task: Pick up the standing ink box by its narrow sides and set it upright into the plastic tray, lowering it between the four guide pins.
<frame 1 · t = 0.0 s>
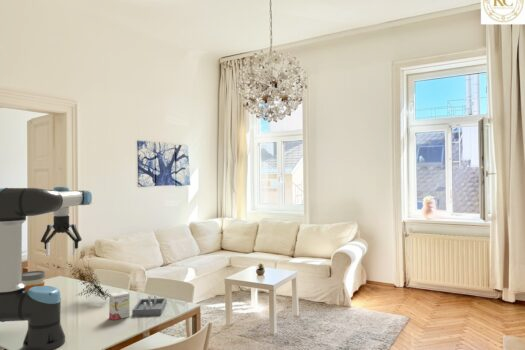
hand: (61, 255, 207), 28 cm above the table, tool pointing down, fingers open, 13 cm apart
pin tray: (150, 309, 202), on the table
reusable coffee cup: (32, 299, 221), on the table
dried plant: (81, 301, 218), on the table
ink box: (119, 317, 191), on the table
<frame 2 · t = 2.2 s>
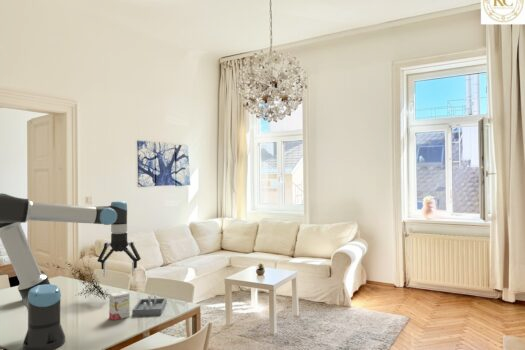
hand: (119, 275, 191), 21 cm above the table, tool pointing down, fingers open, 13 cm apart
nothing on the table moved.
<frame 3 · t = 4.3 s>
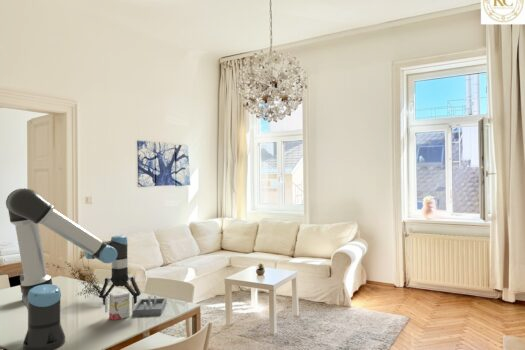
hand: (120, 310, 191), 3 cm above the table, tool pointing down, fingers open, 12 cm apart
nothing on the table moved.
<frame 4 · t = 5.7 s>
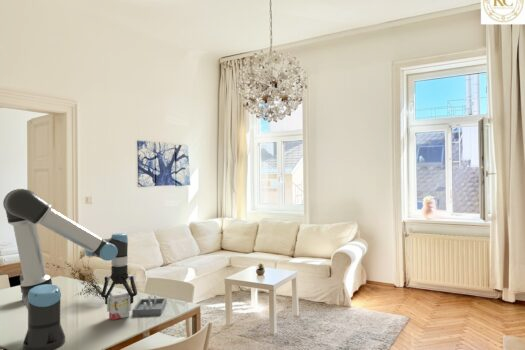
hand: (119, 310, 191), 3 cm above the table, tool pointing down, fingers closed on ink box, 9 cm apart
ink box: (119, 317, 190), on the table, touching gripper
everything else where it was.
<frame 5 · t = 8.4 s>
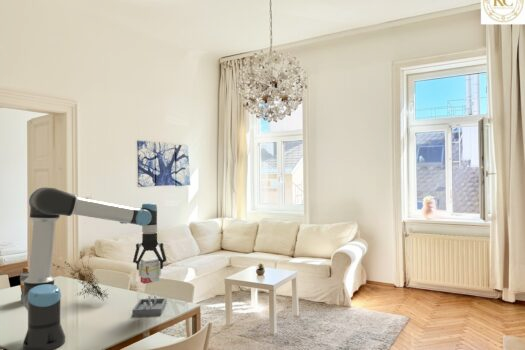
hand: (150, 275, 202), 18 cm above the table, tool pointing down, fingers closed on ink box, 9 cm apart
ink box: (150, 282, 202), point 14 cm above the table, touching gripper
everything else where it was.
when the fingers open (4 cm above the table, at t = 10.9 s): ink box stays where it is, resting on pin tray.
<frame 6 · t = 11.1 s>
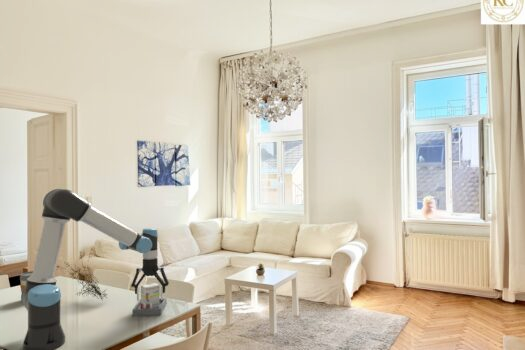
hand: (150, 299, 202), 5 cm above the table, tool pointing down, fingers open, 11 cm apart
ink box: (150, 308, 202), point 1 cm above the table, touching pin tray
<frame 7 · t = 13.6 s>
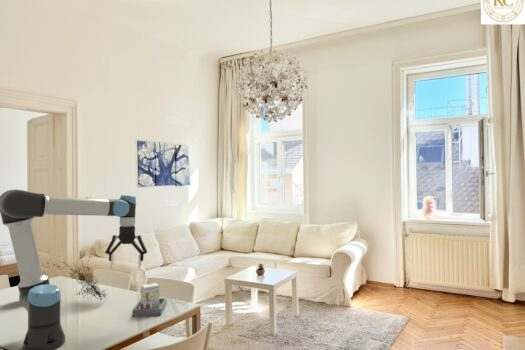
hand: (126, 267, 195), 23 cm above the table, tool pointing down, fingers open, 13 cm apart
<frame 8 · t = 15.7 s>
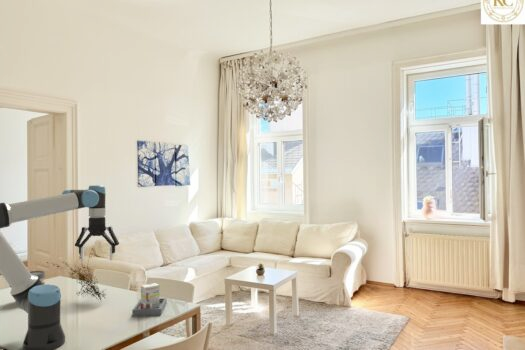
hand: (97, 260, 188), 29 cm above the table, tool pointing down, fingers open, 13 cm apart
at the end: ink box 0.1 cm off-centre on the pin tray, point 0.8 cm above the pin tray's base; ink box tilted 0°; the gripper is holding nothing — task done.
